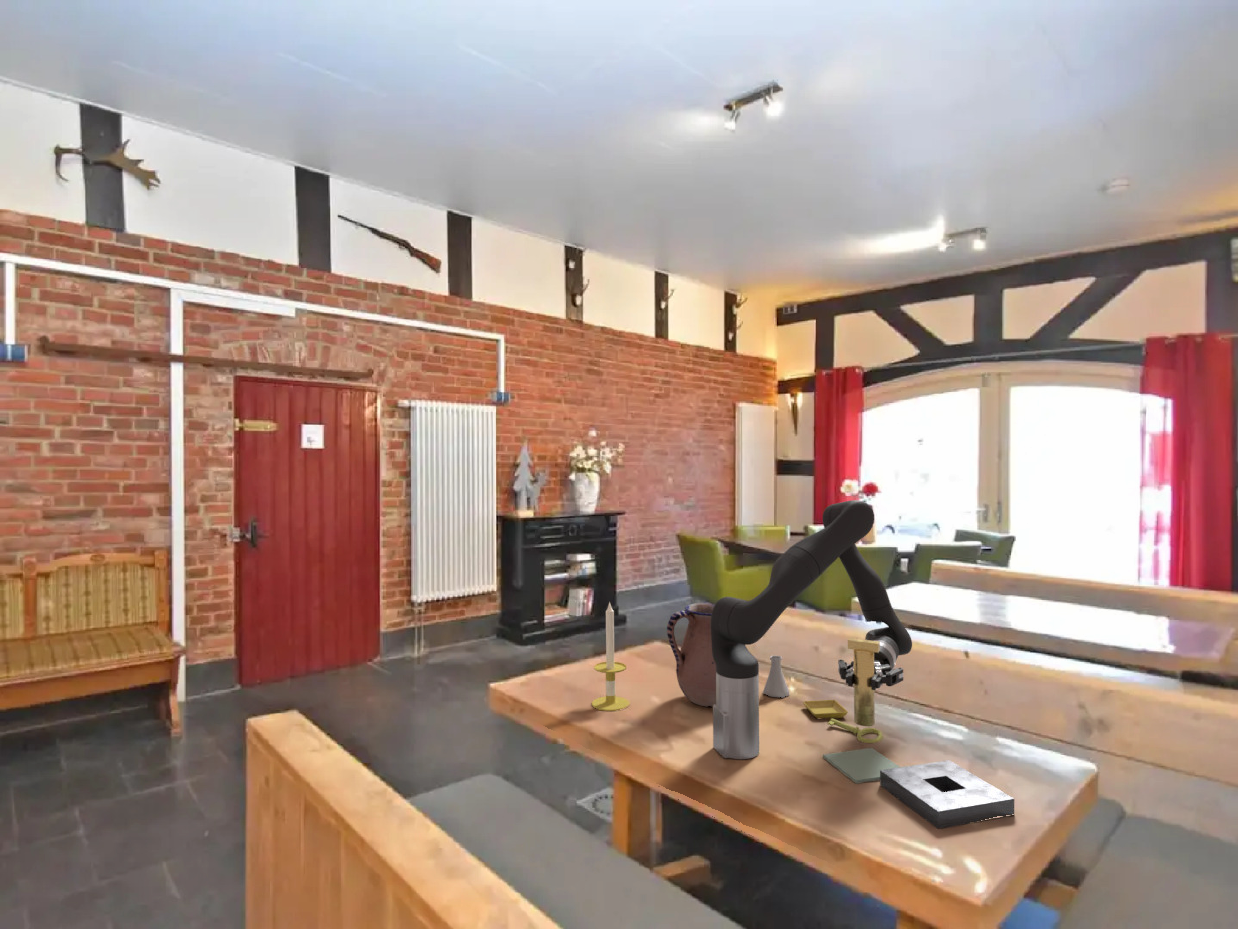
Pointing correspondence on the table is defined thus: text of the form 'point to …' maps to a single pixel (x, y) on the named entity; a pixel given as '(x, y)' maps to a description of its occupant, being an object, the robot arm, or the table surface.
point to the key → (858, 731)
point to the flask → (776, 680)
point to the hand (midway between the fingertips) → (861, 683)
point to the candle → (610, 670)
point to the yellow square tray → (825, 709)
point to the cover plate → (946, 793)
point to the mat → (860, 764)
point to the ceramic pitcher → (695, 654)
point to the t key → (864, 680)
